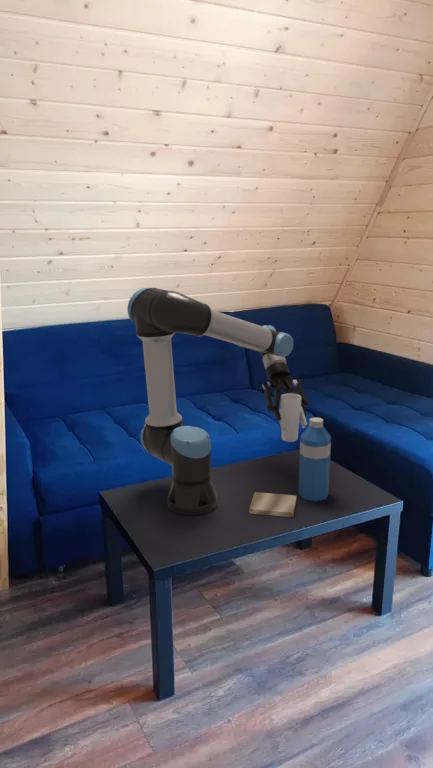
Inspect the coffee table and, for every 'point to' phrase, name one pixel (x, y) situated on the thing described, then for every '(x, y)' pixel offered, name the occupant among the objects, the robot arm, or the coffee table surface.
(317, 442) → the water bottle
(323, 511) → the coffee table surface
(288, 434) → the drinking glass
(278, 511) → the birch board
